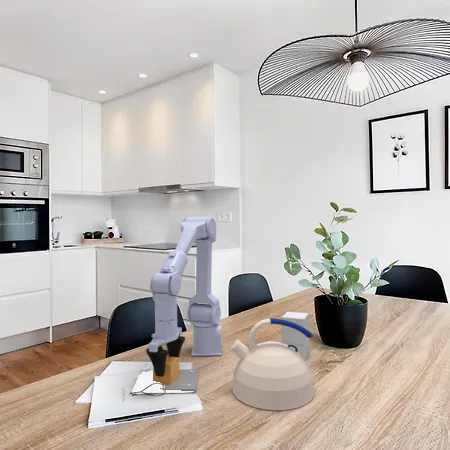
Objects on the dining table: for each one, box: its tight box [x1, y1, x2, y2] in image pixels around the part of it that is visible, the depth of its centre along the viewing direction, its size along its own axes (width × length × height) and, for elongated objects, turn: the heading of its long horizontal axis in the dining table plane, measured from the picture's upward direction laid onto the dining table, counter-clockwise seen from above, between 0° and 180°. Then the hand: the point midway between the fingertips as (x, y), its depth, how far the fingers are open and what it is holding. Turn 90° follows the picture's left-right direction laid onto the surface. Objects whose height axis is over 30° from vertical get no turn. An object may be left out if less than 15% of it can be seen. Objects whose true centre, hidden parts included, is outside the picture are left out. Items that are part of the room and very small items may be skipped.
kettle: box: [230, 317, 315, 411], centre depth 91 cm, size 20×21×18 cm
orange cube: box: [152, 355, 180, 384], centre depth 95 cm, size 5×5×5 cm
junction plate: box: [140, 368, 200, 393], centre depth 95 cm, size 16×12×4 cm
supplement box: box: [280, 311, 311, 361], centre depth 114 cm, size 7×7×13 cm
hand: (166, 369), depth 95 cm, fingers open, 7 cm apart
